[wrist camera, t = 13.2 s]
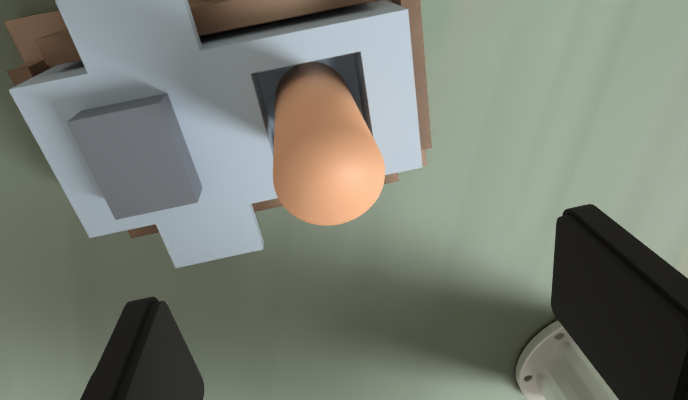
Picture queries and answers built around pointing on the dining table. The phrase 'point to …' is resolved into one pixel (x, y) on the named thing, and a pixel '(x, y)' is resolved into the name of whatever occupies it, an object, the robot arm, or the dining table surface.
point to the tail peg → (323, 148)
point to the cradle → (209, 17)
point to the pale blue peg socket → (202, 113)
